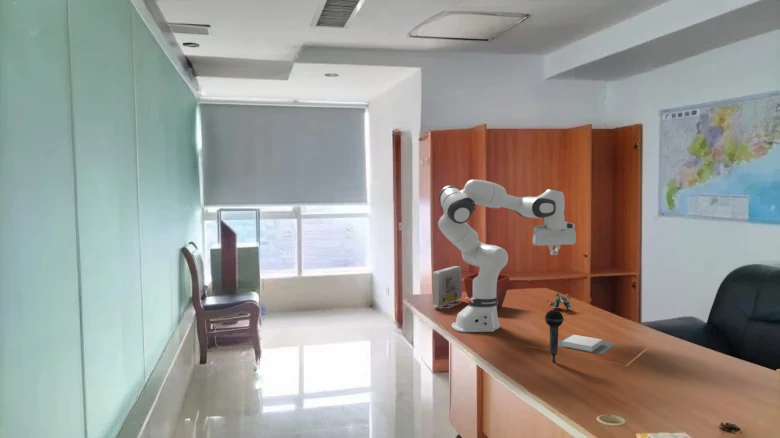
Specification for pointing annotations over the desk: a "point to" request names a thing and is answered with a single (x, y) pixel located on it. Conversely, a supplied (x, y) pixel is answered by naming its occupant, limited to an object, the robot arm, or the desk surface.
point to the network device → (447, 286)
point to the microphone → (554, 329)
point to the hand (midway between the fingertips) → (554, 254)
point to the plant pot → (501, 287)
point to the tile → (582, 343)
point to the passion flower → (560, 299)
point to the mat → (600, 350)
